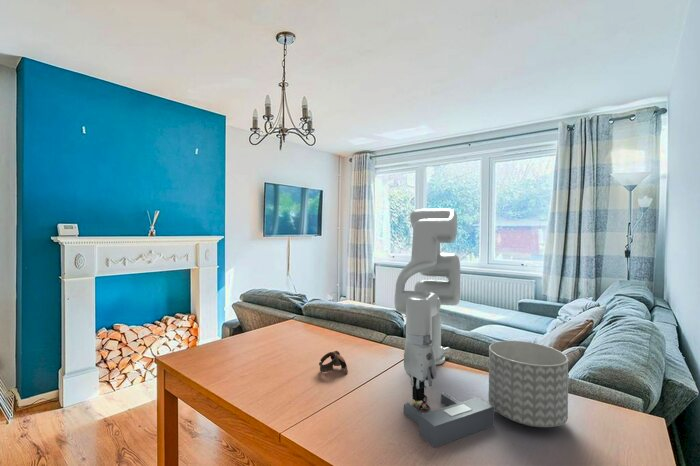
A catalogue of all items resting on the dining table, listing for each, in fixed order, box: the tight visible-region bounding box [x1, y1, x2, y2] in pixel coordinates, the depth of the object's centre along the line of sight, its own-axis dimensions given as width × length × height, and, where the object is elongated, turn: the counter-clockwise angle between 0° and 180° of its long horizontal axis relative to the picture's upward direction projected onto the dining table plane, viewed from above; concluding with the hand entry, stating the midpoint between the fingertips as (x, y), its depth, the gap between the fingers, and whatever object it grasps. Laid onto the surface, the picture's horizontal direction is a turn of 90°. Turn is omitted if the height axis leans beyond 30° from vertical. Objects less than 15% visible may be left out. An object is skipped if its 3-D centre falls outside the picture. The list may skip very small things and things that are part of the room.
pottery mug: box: [318, 350, 349, 376], centre depth 121 cm, size 12×10×8 cm
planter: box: [488, 340, 569, 428], centre depth 91 cm, size 19×19×18 cm
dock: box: [403, 392, 495, 448], centre depth 90 cm, size 20×16×5 cm
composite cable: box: [411, 394, 431, 413], centre depth 98 cm, size 10×5×2 cm, turn 153°
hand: (418, 399), depth 100 cm, fingers closed
